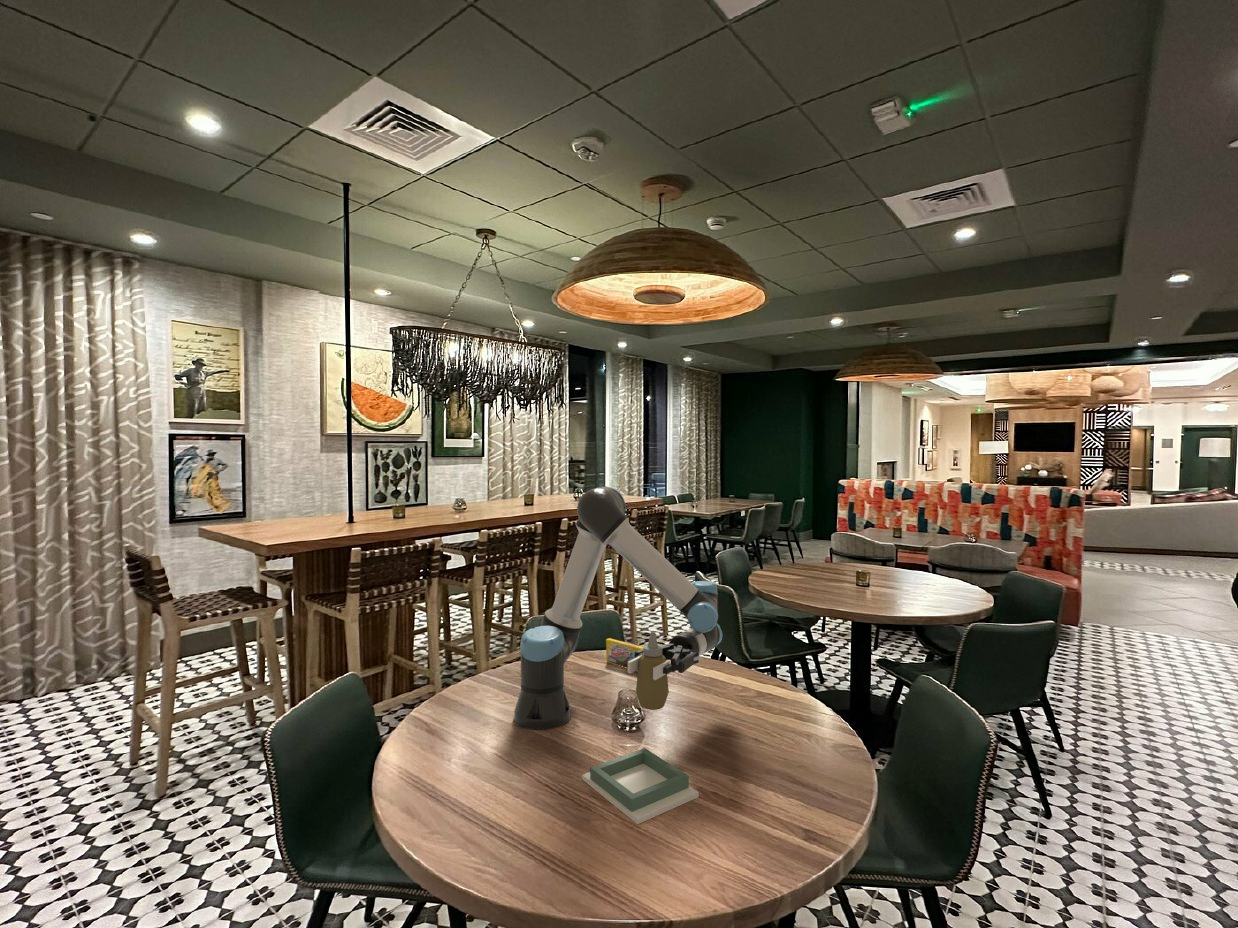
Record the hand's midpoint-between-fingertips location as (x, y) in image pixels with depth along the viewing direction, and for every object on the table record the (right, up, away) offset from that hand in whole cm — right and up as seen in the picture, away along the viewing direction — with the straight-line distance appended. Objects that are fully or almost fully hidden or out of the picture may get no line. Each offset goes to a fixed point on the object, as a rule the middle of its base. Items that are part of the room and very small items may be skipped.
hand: (641, 670), depth 143 cm
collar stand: (-1, -20, -14) cm, 25 cm away
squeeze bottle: (+3, -10, +4) cm, 11 cm away
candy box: (-3, -20, +60) cm, 64 cm away
